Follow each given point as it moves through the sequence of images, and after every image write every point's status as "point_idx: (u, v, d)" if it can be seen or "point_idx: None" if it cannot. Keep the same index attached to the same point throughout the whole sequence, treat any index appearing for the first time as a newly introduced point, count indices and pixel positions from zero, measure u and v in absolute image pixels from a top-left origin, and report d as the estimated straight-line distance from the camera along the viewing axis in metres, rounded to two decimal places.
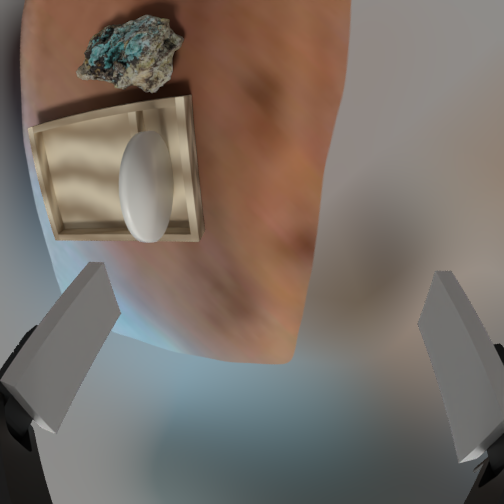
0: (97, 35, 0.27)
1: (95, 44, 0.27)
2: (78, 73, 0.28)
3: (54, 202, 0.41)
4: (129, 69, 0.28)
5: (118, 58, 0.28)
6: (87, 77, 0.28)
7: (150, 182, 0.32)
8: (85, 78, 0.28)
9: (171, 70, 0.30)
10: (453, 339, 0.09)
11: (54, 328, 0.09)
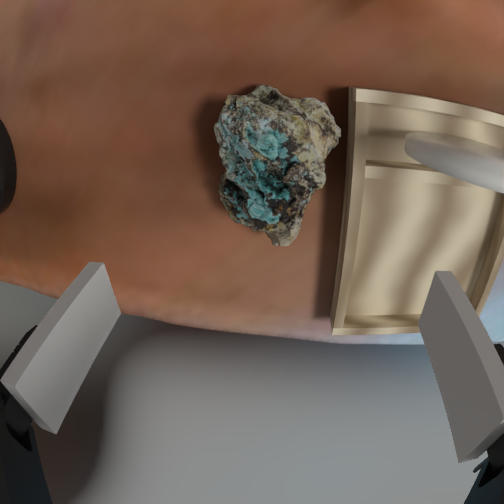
0: (231, 209, 0.26)
1: (245, 211, 0.25)
2: (285, 241, 0.25)
3: None
4: (301, 157, 0.21)
5: (277, 176, 0.23)
6: (296, 227, 0.24)
7: (480, 154, 0.17)
8: (297, 231, 0.24)
9: (312, 99, 0.21)
10: (453, 339, 0.09)
11: (54, 328, 0.09)
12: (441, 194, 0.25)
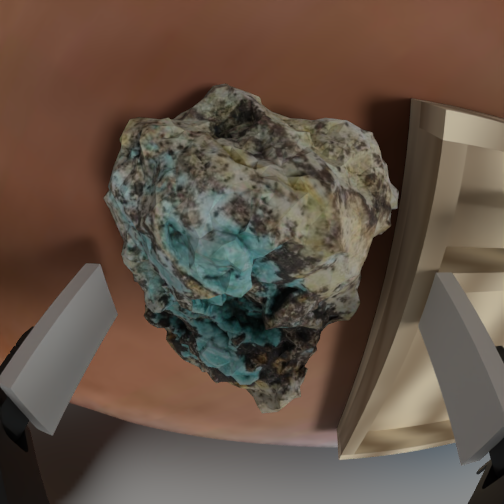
0: (171, 340, 0.13)
1: (194, 353, 0.12)
2: (271, 410, 0.12)
3: None
4: (312, 281, 0.09)
5: (256, 302, 0.11)
6: (292, 396, 0.11)
7: None
8: (293, 398, 0.12)
9: (342, 123, 0.09)
10: (455, 341, 0.09)
11: (50, 330, 0.09)
12: None
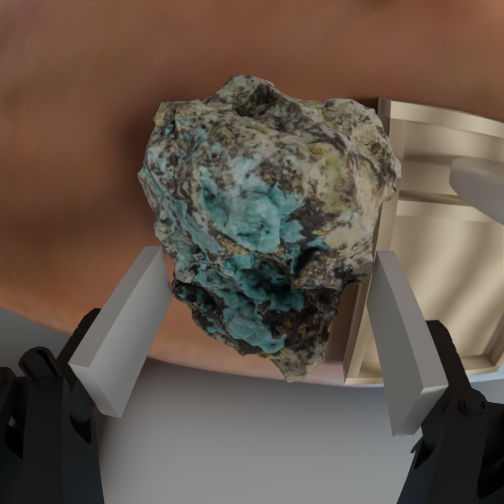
0: (197, 317, 0.14)
1: (220, 326, 0.13)
2: (296, 378, 0.13)
3: None
4: (333, 238, 0.10)
5: (279, 268, 0.12)
6: (317, 360, 0.12)
7: None
8: (317, 363, 0.12)
9: (348, 101, 0.10)
10: (388, 313, 0.10)
11: (123, 308, 0.10)
12: (480, 231, 0.20)
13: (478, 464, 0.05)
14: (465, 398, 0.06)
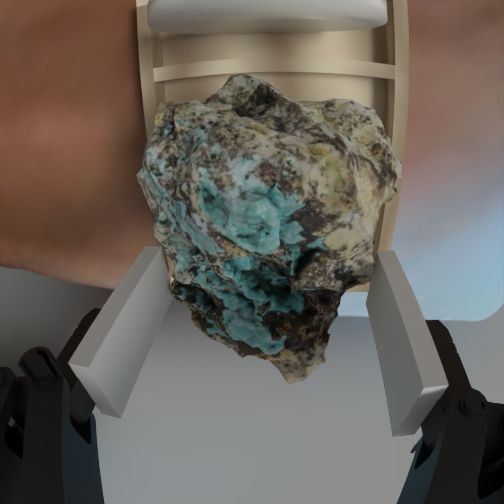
0: (196, 318, 0.14)
1: (220, 328, 0.13)
2: (296, 380, 0.13)
3: None
4: (333, 240, 0.10)
5: (279, 270, 0.12)
6: (318, 362, 0.12)
7: None
8: (317, 365, 0.12)
9: (348, 102, 0.10)
10: (388, 313, 0.10)
11: (123, 308, 0.10)
12: None
13: (478, 464, 0.05)
14: (465, 398, 0.06)
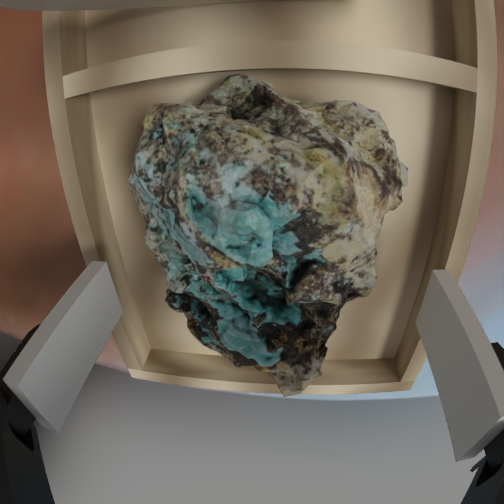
0: (192, 326, 0.14)
1: (215, 337, 0.13)
2: (292, 393, 0.12)
3: (322, 368, 0.18)
4: (331, 252, 0.09)
5: (276, 280, 0.11)
6: (314, 376, 0.11)
7: None
8: (314, 378, 0.12)
9: (351, 103, 0.09)
10: (451, 337, 0.09)
11: (57, 327, 0.09)
12: None
13: None
14: None
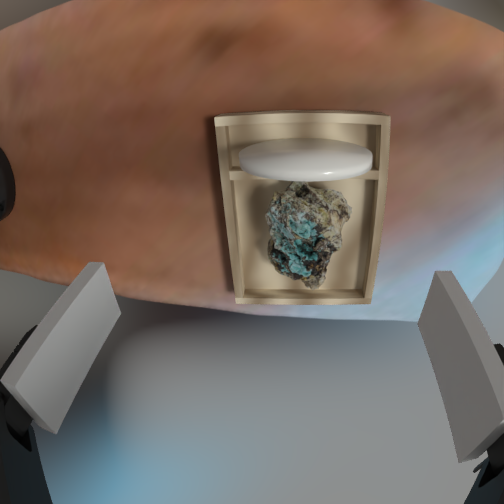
0: (276, 266, 0.37)
1: (287, 268, 0.36)
2: (315, 287, 0.36)
3: (327, 292, 0.42)
4: (325, 234, 0.33)
5: (309, 245, 0.35)
6: (323, 278, 0.35)
7: (297, 152, 0.27)
8: (323, 280, 0.35)
9: (331, 190, 0.32)
10: (453, 339, 0.09)
11: (54, 328, 0.09)
12: None
13: None
14: None
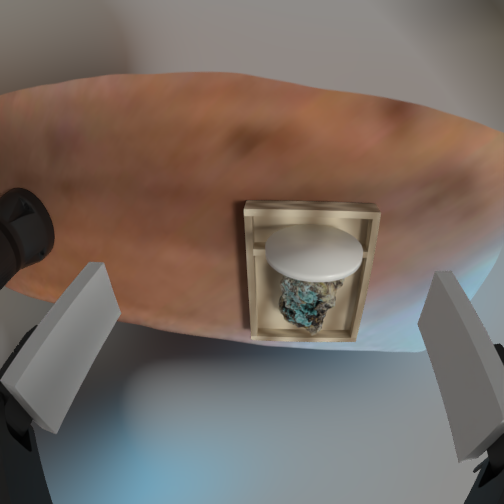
0: (285, 316, 0.49)
1: (293, 319, 0.48)
2: (314, 334, 0.47)
3: (322, 332, 0.53)
4: (324, 299, 0.44)
5: (311, 304, 0.46)
6: (320, 328, 0.46)
7: (308, 249, 0.38)
8: (320, 329, 0.47)
9: None
10: (453, 339, 0.09)
11: (54, 328, 0.09)
12: None
13: None
14: None
